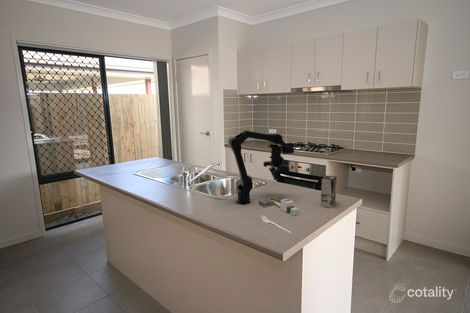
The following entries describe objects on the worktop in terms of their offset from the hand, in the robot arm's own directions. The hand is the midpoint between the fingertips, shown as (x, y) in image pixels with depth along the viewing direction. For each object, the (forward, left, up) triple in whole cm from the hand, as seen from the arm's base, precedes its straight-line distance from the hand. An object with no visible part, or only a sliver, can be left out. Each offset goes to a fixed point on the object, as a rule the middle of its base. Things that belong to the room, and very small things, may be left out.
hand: (275, 180), depth 171 cm
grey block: (-6, -17, -12) cm, 22 cm away
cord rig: (-6, -14, -12) cm, 19 cm away
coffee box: (+20, -23, -12) cm, 33 cm away
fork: (-22, -30, -13) cm, 39 cm away
